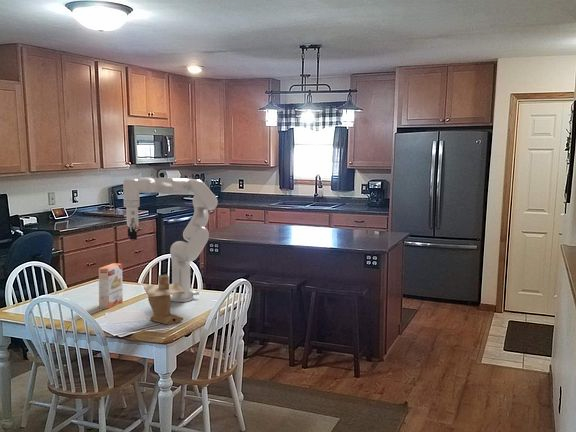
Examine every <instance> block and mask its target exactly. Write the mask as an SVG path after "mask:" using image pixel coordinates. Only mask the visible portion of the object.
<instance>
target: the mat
mask: <svg viewBox="0 0 576 432" xmlns="http://www.w3.org/2000/svg"><path fill="white" fill-rule="evenodd" d="M104 315H105V321H106V324H107V325H113V324H121V323H123V324H124V323H129V322H130V323H131V322H142V321H148V319H147V316H146V314H145V312H144V309H143V308H141V309H131V310H119V311H110V312H104Z"/></svg>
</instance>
